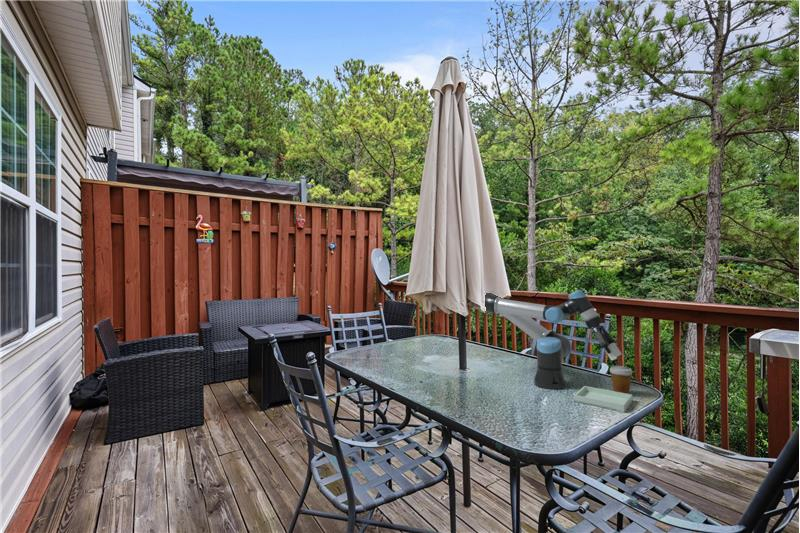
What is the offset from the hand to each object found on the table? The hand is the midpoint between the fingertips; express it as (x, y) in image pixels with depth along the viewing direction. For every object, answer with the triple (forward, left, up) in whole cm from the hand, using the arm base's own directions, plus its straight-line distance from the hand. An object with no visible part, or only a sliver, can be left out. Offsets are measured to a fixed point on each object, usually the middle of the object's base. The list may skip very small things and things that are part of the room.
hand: (616, 357), depth 189 cm
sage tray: (-1, -22, -16) cm, 27 cm away
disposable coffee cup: (+3, -6, -16) cm, 17 cm away
